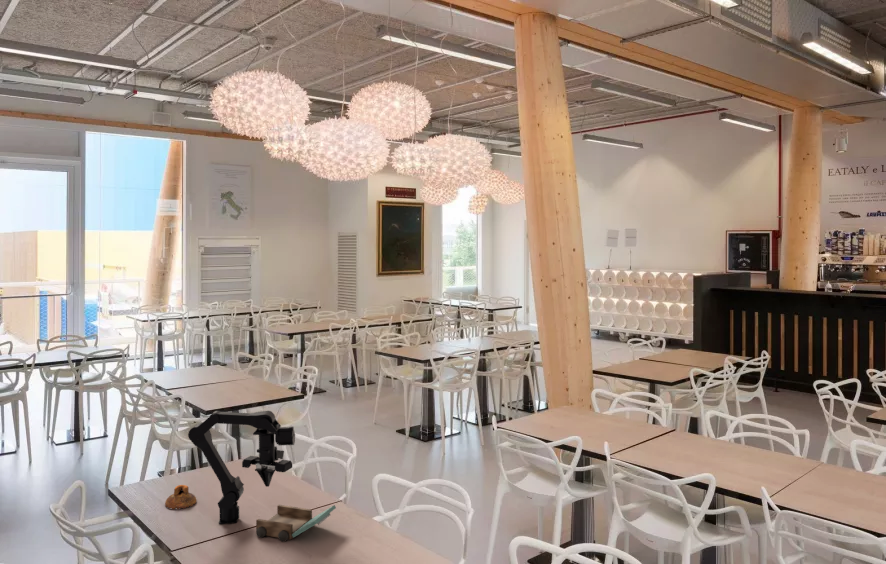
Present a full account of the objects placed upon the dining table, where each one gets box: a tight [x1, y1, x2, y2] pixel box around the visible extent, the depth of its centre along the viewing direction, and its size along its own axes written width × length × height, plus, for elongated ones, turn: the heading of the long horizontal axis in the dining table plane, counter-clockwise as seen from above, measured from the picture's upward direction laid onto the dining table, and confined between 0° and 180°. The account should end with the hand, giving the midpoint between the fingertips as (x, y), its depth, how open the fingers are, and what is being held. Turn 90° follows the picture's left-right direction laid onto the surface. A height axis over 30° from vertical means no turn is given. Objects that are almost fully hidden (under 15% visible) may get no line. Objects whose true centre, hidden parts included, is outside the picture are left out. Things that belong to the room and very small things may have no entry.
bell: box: [164, 484, 197, 510], centre depth 263 cm, size 12×12×7 cm
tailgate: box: [292, 505, 337, 539], centre depth 236 cm, size 2×15×11 cm
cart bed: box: [255, 504, 313, 542], centre depth 240 cm, size 14×17×6 cm
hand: (267, 486), depth 248 cm, fingers closed
